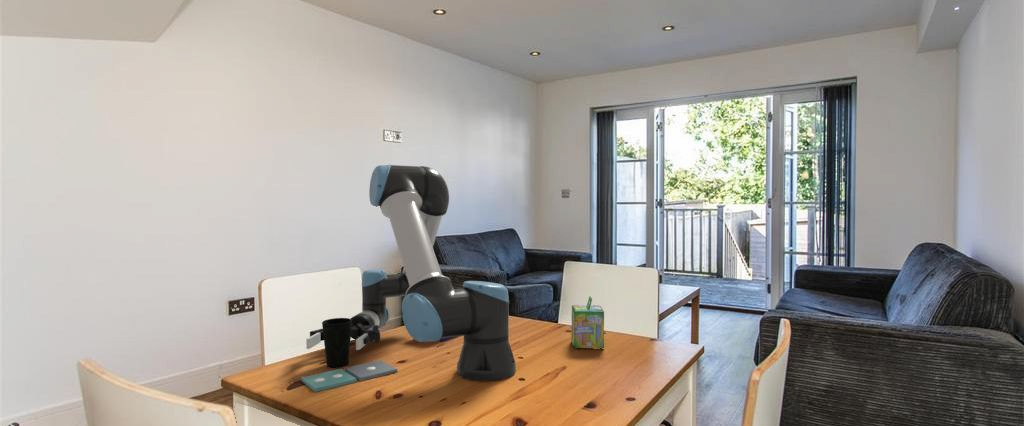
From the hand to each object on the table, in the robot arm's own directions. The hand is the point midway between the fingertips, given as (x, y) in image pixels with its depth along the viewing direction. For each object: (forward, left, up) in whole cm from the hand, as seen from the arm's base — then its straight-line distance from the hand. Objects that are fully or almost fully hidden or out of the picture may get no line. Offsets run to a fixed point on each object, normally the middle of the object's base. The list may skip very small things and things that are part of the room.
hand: (332, 344), depth 133 cm
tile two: (-9, +4, -6) cm, 12 cm away
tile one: (-9, -7, -6) cm, 13 cm away
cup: (+2, -2, -7) cm, 7 cm away
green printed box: (-30, -67, -7) cm, 74 cm away
